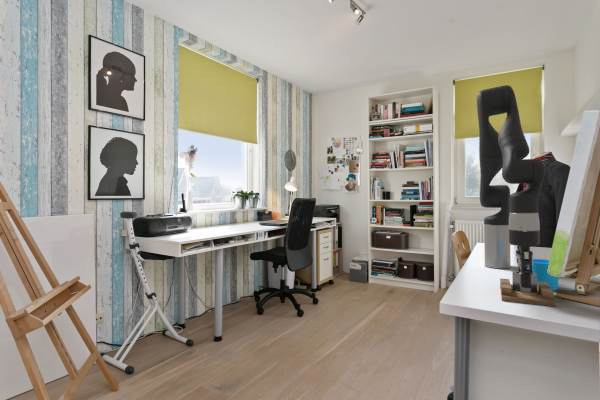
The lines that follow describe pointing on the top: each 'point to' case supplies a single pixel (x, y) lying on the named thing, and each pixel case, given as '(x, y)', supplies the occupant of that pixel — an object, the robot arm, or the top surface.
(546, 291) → the shaft stand
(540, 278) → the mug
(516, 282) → the hub
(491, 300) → the top surface
